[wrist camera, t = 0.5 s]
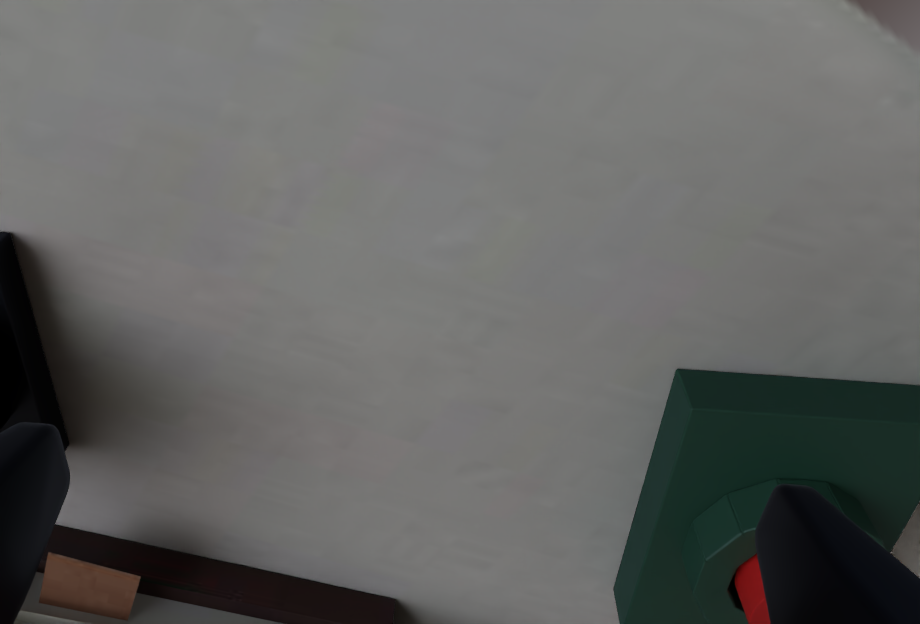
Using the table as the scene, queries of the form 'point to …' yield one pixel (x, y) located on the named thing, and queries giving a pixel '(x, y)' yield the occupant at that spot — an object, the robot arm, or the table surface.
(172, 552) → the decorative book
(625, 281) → the table surface
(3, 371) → the tap bracket
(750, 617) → the red push button
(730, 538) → the control block
